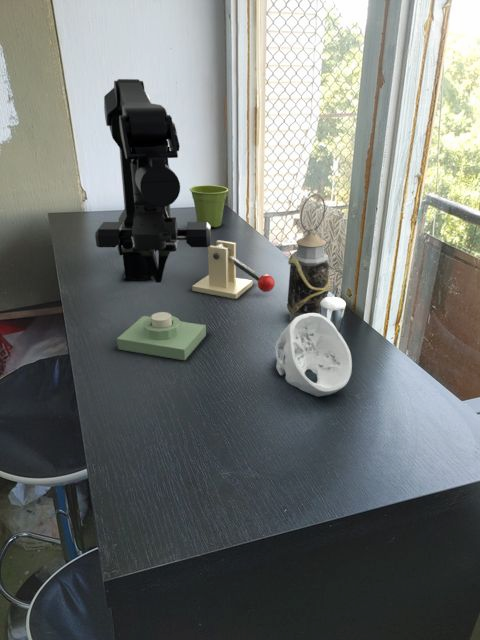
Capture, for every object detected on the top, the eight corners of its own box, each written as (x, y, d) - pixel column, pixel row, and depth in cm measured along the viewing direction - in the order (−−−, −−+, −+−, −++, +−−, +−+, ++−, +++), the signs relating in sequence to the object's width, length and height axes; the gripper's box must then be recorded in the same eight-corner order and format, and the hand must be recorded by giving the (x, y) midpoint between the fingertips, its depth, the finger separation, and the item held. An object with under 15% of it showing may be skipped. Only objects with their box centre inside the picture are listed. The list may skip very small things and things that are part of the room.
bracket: (252, 285, 122) (252, 242, 117) (236, 299, 115) (235, 254, 110) (210, 277, 126) (209, 235, 120) (192, 290, 118) (189, 246, 113)
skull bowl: (305, 340, 95) (330, 302, 85) (338, 409, 89) (369, 376, 79) (253, 352, 91) (273, 312, 80) (284, 424, 85) (310, 392, 75)
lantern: (305, 307, 112) (313, 187, 99) (335, 319, 107) (347, 194, 94) (277, 319, 106) (282, 193, 94) (307, 332, 101) (316, 202, 89)
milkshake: (344, 338, 99) (349, 289, 95) (338, 350, 95) (344, 300, 90) (321, 334, 101) (325, 285, 96) (314, 346, 96) (318, 296, 91)
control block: (118, 349, 94) (115, 329, 92) (144, 325, 102) (142, 307, 100) (184, 360, 91) (183, 340, 89) (206, 335, 99) (205, 316, 97)
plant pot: (227, 231, 160) (226, 193, 154) (188, 230, 160) (186, 192, 154) (230, 220, 170) (229, 185, 165) (193, 219, 170) (192, 184, 165)
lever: (272, 291, 118) (280, 278, 115) (265, 297, 114) (273, 284, 112) (217, 253, 119) (224, 239, 116) (209, 258, 116) (216, 244, 113)
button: (148, 327, 94) (147, 318, 93) (157, 319, 97) (156, 310, 96) (166, 330, 93) (166, 321, 92) (175, 322, 96) (174, 313, 95)
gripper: (81, 204, 77) (95, 300, 85) (207, 204, 78) (210, 300, 86) (96, 187, 87) (108, 275, 94) (209, 188, 88) (212, 275, 96)
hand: (158, 281), depth 92 cm, fingers closed
